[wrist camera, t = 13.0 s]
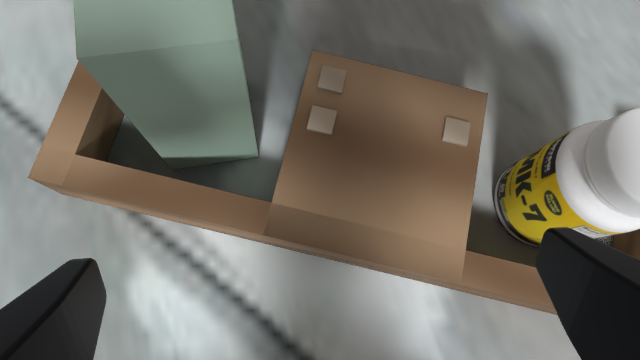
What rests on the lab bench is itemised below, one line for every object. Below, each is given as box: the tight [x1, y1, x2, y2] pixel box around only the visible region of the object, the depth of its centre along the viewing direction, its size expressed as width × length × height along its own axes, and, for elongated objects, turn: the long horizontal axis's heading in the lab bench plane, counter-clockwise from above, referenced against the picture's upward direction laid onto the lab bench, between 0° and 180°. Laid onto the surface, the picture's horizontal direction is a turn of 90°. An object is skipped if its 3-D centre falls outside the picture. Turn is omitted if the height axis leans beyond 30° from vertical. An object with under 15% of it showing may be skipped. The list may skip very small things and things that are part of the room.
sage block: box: [74, 0, 259, 170], centre depth 19 cm, size 4×4×11 cm
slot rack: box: [28, 50, 640, 315], centre depth 22 cm, size 10×30×3 cm, turn 77°
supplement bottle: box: [494, 108, 640, 247], centre depth 20 cm, size 5×5×8 cm
